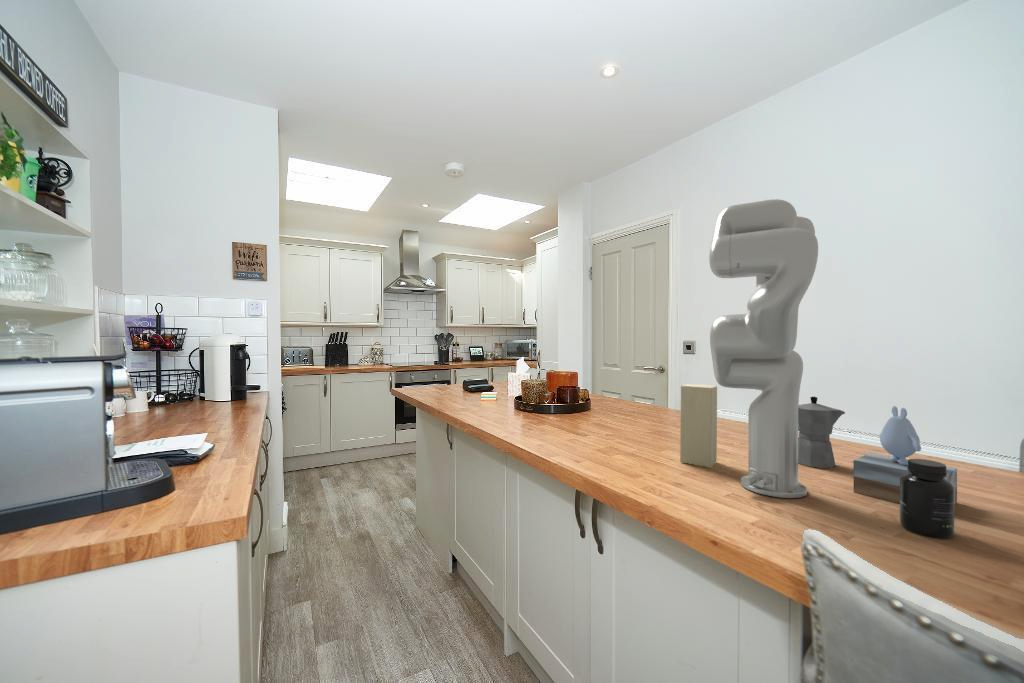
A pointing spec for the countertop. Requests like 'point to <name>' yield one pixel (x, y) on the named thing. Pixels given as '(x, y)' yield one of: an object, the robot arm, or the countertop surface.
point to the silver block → (885, 477)
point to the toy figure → (899, 437)
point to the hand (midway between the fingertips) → (772, 343)
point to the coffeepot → (816, 434)
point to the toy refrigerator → (698, 424)
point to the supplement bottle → (927, 499)
